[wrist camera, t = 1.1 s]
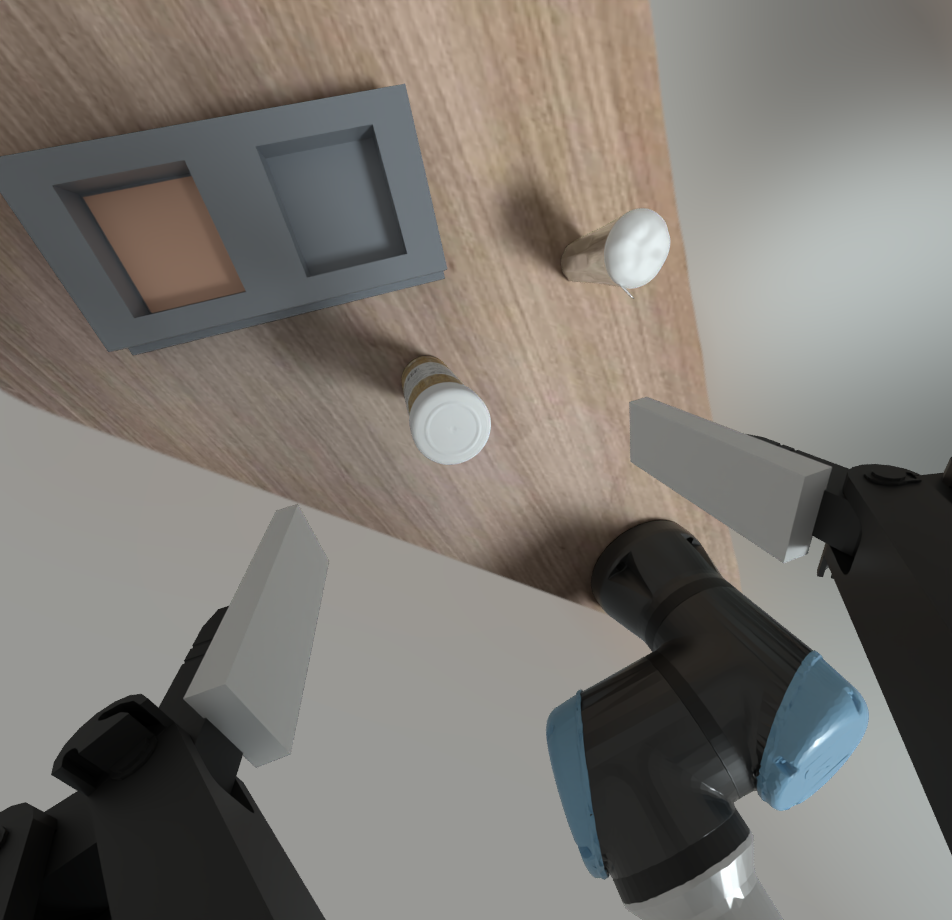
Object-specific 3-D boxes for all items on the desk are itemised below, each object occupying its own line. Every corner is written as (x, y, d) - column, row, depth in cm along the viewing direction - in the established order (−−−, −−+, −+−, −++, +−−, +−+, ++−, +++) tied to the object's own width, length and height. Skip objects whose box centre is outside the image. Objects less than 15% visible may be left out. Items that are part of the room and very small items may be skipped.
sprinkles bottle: (427, 415, 33) (452, 481, 21) (389, 380, 31) (393, 432, 19) (462, 380, 32) (508, 427, 20) (426, 342, 30) (454, 370, 18)
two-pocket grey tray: (442, 279, 29) (449, 276, 26) (141, 353, 26) (113, 359, 23) (400, 97, 24) (402, 72, 21) (22, 167, 21) (-30, 148, 18)
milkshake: (540, 286, 31) (603, 281, 22) (568, 219, 29) (650, 184, 20) (581, 308, 32) (657, 312, 23) (610, 246, 31) (703, 224, 22)
